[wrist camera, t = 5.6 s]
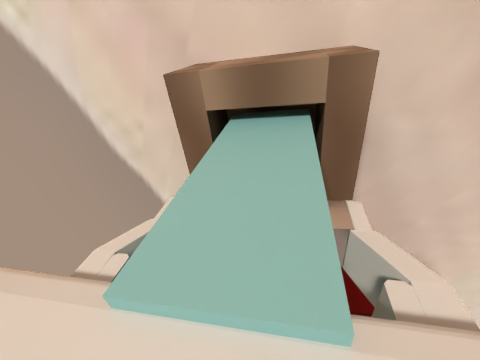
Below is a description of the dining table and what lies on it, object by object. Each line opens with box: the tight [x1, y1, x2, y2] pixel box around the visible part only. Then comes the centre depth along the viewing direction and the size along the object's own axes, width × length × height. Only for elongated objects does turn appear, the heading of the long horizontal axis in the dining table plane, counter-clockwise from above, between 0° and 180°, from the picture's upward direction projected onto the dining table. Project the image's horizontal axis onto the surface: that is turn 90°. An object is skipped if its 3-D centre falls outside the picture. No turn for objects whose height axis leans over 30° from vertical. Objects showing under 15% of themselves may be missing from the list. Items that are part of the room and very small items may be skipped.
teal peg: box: [102, 109, 354, 347], centre depth 10 cm, size 4×4×12 cm
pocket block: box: [163, 46, 379, 201], centre depth 15 cm, size 10×10×5 cm
